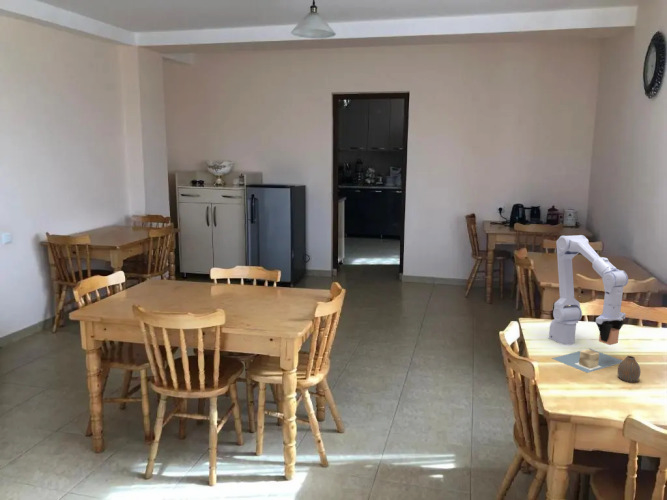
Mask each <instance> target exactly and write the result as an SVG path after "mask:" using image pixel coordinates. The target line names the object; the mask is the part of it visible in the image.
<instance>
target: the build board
mask: <svg viewBox="0 0 667 500" xmlns="http://www.w3.org/2000/svg"><path fill="white" fill-rule="evenodd" d="M587 349H588V348H586V349H585V350H587ZM589 349H590V350H592V351H595V352H598V353H599V361H598V366H597V367H594V368H587V367H585V366H582V365H580V364H579V359H580V351H583V350H584V349H583V350H579V351H575V352H571V353H567V354H563V355H559V356H555V357H552V358H551V359H552V360H555V361H557V362H559V363H562V364H564V365H567V366H570V367H572V368H574V369H576V370H579V371H581V372H584V373H586V374H588V373H592V372H595V371H598V370H601V369H605V368H609V367H612V366H616V365H619V364H620V363H621V362H622V361H623V360H624V359H623V360H622V359H619V358H617V357H614V356H612V355H610V354H609V355H608V354H606V353H603V352H600V351H598V350H596V349H592V348H589Z"/></svg>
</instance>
